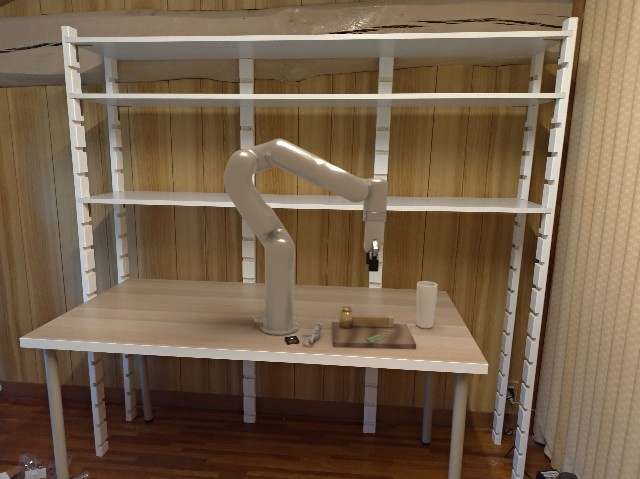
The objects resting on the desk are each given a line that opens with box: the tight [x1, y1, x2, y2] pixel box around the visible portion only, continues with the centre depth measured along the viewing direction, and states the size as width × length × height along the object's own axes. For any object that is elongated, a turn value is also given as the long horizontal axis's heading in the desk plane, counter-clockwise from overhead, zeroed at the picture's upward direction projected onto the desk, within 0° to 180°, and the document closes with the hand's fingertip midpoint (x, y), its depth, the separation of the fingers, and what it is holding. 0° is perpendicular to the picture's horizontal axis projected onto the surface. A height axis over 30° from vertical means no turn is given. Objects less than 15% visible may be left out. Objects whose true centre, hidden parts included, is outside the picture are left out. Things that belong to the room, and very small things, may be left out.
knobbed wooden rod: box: [339, 305, 395, 328], centre depth 151 cm, size 18×4×6 cm, turn 89°
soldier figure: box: [301, 321, 325, 347], centre depth 145 cm, size 8×5×12 cm
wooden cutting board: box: [331, 321, 417, 350], centre depth 148 cm, size 25×17×2 cm
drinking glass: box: [415, 280, 438, 330], centre depth 157 cm, size 7×7×15 cm
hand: (371, 267), depth 154 cm, fingers open, 9 cm apart
